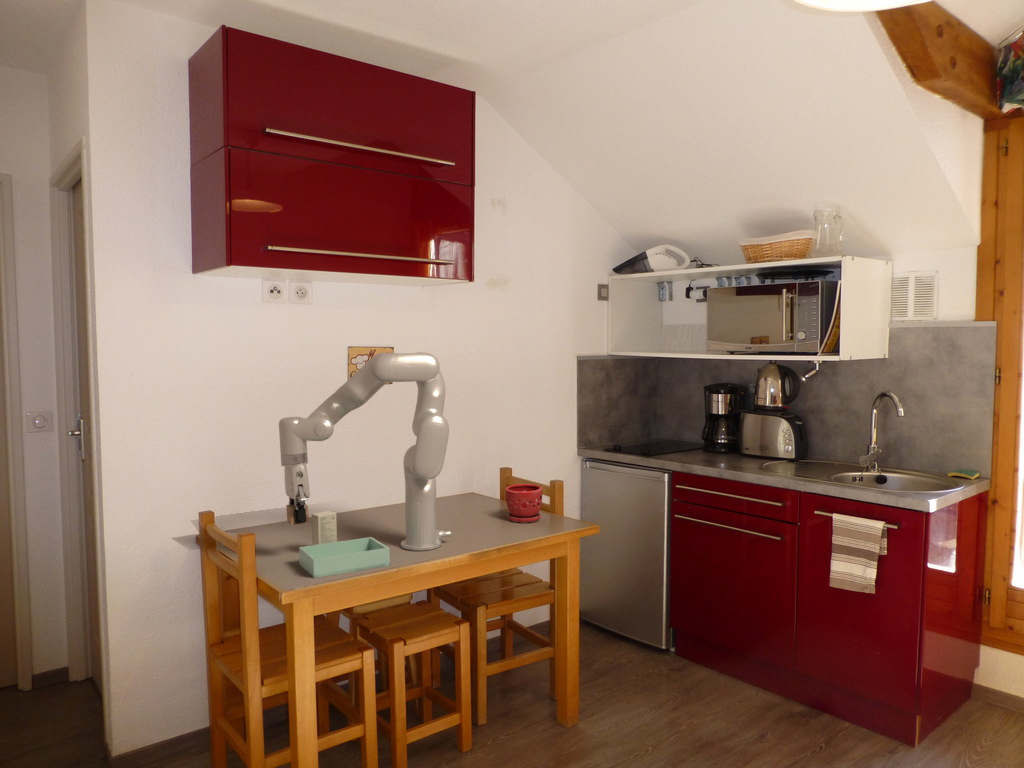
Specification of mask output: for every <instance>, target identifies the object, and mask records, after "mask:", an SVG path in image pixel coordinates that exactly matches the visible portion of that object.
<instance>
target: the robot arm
mask: <svg viewBox="0 0 1024 768" xmlns="http://www.w3.org/2000/svg"><path fill="white" fill-rule="evenodd" d="M440 367H441V365H440V361H439V359H438V358H437V357H436V356H435V355H434V354H432V353H429V352H421V351H418V352H409V353H405V352H404V353H402V352H400V353H396V352H395V353H394V352H379V353H375V355H373V356H372V357H370V359H369V360H368V361H366V363H365V364H363V365H362V366H361V367H360V368H359V369H358V370H357V371H356V372H355V373H354V374H353V375H352V376H351V377H349V378H348V380H346V381H345V382H344V383H343V384H342V385H341V386H340V387H338V389H336V391H334V393H332V394H331V395H330V396H329V397H328V398H326V399H325V400H324V401H323V402H322V403H321V404H320V405H319V406H318V407H317V408H316V409H315V410H314V411H312V412H311V414H309V415H308V416H307V417H301V416H288V417H283V418H281V419H280V420H279V422H278V431H279V434H278V437H279V447H280V448H279V450H280V464H281V465H280V466H281V467H284V470H283V471H284V490H285V495H286V496H288V505H291V504H295V510H294V517H295V523H296V525H298V524H297V523H302V524H305V523H304V522H306V506H305V504H306V499H309V498H310V497H311V493H310V483H309V482H310V481H309V475H308V469H307V464H308V463H309V456H308V443H307V442H310V441H311V442H324V441H326V440H329V439H330V438H331V436H333V433H334V428H335V425H337V423H339V421H341V420H342V419H343V418H344V417H345V416H347V415H348V414H349V413H352V411H354V410H357V409H359V408H360V407H362V406H364V405H365V404H366V403H368V401H369V400H371V399H372V397H374V396H375V395H376V394H377V392H379V391H380V390H381V389H382V388H383V387H384V386H385V385H386V384H387V383H388V382H390V383H392V382H395V383H400V382H401V383H408V382H409V383H410V382H412V383H413V382H415V383H416V386H417V398H416V404H415V409H414V410H415V411H414V415H413V420H412V425H411V429H412V432H413V435H415V437H416V440H415V444H414V445H411V446H410V447H409V448H408V449H406V451H405V453H404V456H403V460H402V461H403V474H404V487H405V488H404V489H405V490H404V491H405V492H404V493H405V495H404V497H405V499H404V500H405V502H404V503H405V504H404V505H405V510H404V511H405V539H403V540H401V542H400V547H401V548H402V549H405V550H408V551H419V552H420V551H422V552H423V551H430V550H434V549H439V548H440V547H441V546H442V545H443V544H442V540H441V539H443V538H448V537H451V536H452V532H451V530H445V531H444V530H442V529H441V530H439V529H437V479H436V477H438V476H439V475H440V473H441V472H442V470H443V468H444V467H443V466H444V464H445V459H446V453H447V447H448V442H449V436H450V426H449V423H448V419H446V417H445V416H444V414H443V413H444V409H445V400H446V383H445V379H444V376H443V373H441V370H440ZM297 503H298V505H297Z"/></svg>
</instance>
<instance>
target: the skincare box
mask: <svg viewBox="0 0 1024 768" xmlns="http://www.w3.org/2000/svg"><path fill="white" fill-rule="evenodd" d="M337 528H338V527H337V512H336V511H335V512H334V511H332V510H325V511H319V512H313V513H311V530H312V531H311V534H312V535H311V536H312V545H318V544H325V543H332V542H338V537H337V536H338V533H337V532H338V530H337Z"/></svg>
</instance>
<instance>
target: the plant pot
mask: <svg viewBox="0 0 1024 768" xmlns="http://www.w3.org/2000/svg"><path fill="white" fill-rule="evenodd" d="M504 492H505V502H506V506H507V511H509V513H508V515H507V516H508V518H509V520H510V521H511V522H513V523H514V522H515V523H518V522H520V524H529V523H528V522H530V523H535V522H537V521H538V520H540V519H541V513H540V511H541V509H542V504H543V503H542V502H543V487H542V486H540V485H538V484H529V483H521V484H520V483H518V484H512V485H509V486H507V487H505V491H504Z"/></svg>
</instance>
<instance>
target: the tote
mask: <svg viewBox="0 0 1024 768" xmlns="http://www.w3.org/2000/svg"><path fill="white" fill-rule="evenodd" d="M390 549H391V548H390V547H388V546H387V545H385V544H384V543H382V542H381V541H379V540H377V539H376V538H374V537H372V536H369V537H362V538H356V539H355V538H354V539H350V540H349V539H348V540H347V539H346V540H342V541H341V540H339V541H337V542H332V543H325V544H318V545H313V544H312V545H307V546H306V545H305V546H299V547H298V555H299V556H298V560H299V561H298V562H299V566H300V567H301V568H302V569H303V570H305V571H306V573H308V574H309V575H310V576H311V577H312V578H314V579H317V578H324V577H328V576H329V577H330V576H335V575H341V574H346V573H347V574H349V573H353V572H360V571H366V570H373V569H377V568H378V569H379V568H384V567H389V566H391V560H390V559H391V555H390V553H391V550H390Z"/></svg>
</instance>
